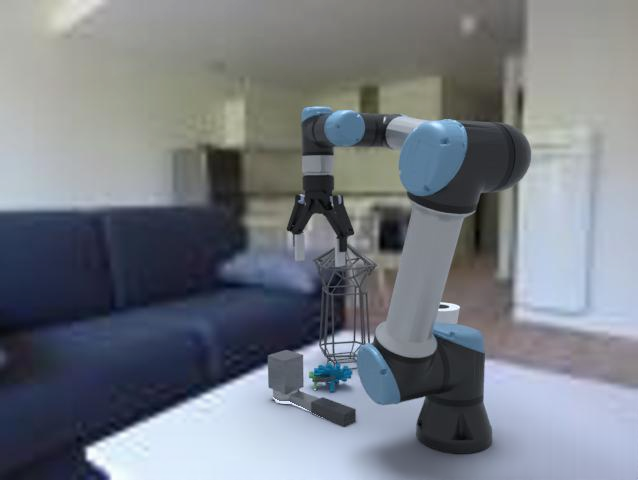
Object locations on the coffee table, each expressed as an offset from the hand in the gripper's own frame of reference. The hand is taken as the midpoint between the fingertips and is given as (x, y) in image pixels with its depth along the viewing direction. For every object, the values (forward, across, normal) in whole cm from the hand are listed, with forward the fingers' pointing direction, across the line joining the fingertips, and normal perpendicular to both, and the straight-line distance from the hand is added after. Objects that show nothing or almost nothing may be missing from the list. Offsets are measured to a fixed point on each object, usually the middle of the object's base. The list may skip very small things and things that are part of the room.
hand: (319, 263), depth 137 cm
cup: (+33, -12, -34) cm, 49 cm away
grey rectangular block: (+30, +4, +8) cm, 31 cm away
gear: (+33, +1, -5) cm, 33 cm away
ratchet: (+33, -5, +8) cm, 34 cm away
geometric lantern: (+33, +10, -20) cm, 40 cm away
